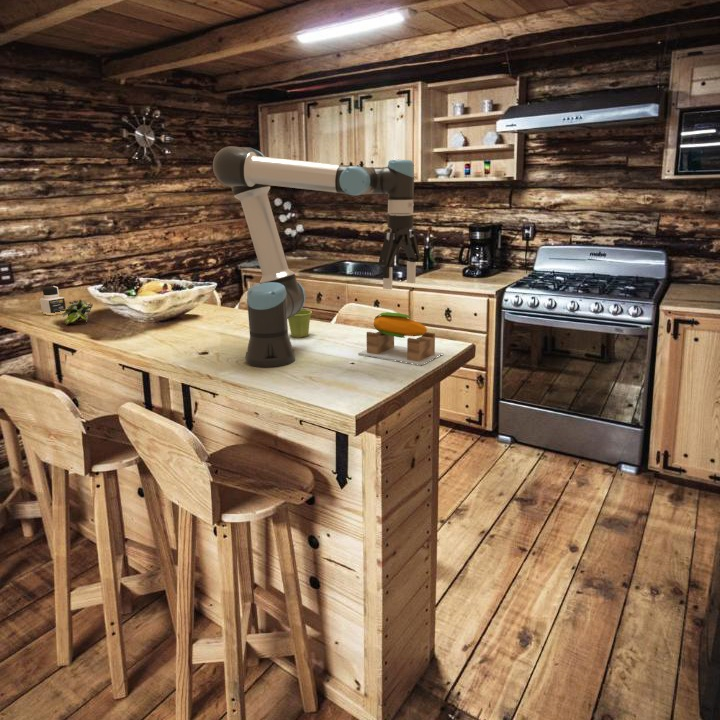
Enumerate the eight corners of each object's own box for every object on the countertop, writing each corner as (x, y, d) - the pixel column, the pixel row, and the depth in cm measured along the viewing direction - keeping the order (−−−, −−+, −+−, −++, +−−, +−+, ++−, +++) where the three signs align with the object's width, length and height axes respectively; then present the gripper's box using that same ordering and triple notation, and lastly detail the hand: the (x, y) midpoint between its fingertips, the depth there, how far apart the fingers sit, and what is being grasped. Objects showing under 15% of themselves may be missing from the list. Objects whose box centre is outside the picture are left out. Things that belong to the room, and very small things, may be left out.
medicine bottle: (51, 316, 259) (46, 288, 256) (42, 314, 263) (37, 287, 259) (66, 313, 265) (62, 286, 261) (57, 311, 268) (53, 284, 265)
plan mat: (421, 366, 180) (421, 364, 180) (358, 354, 193) (358, 353, 192) (443, 355, 191) (443, 353, 191) (382, 345, 204) (382, 343, 203)
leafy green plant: (78, 334, 250) (87, 307, 254) (95, 332, 244) (103, 305, 248) (54, 323, 241) (63, 296, 245) (70, 321, 235) (79, 293, 239)
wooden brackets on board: (418, 363, 182) (418, 340, 180) (366, 354, 193) (366, 332, 191) (434, 355, 190) (435, 333, 188) (383, 347, 201) (383, 326, 199)
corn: (381, 306, 196) (434, 314, 184) (382, 329, 199) (434, 338, 187) (367, 312, 191) (420, 320, 179) (369, 335, 194) (421, 344, 181)
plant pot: (308, 339, 213) (307, 315, 210) (283, 338, 215) (281, 314, 212) (315, 333, 222) (315, 309, 219) (291, 332, 223) (290, 309, 221)
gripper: (388, 217, 168) (388, 293, 174) (432, 212, 187) (430, 281, 193) (366, 216, 172) (366, 290, 178) (411, 212, 191) (410, 279, 197)
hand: (399, 285), depth 185 cm, fingers open, 13 cm apart
